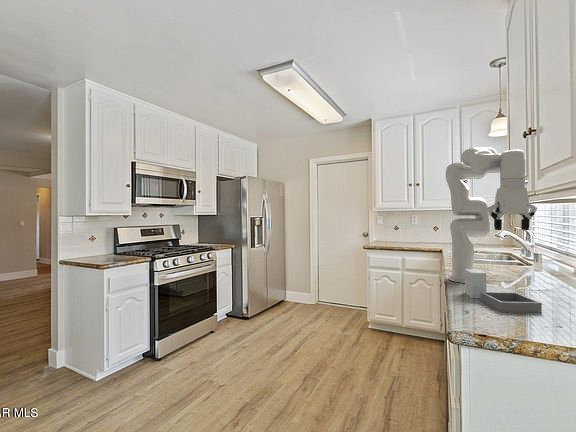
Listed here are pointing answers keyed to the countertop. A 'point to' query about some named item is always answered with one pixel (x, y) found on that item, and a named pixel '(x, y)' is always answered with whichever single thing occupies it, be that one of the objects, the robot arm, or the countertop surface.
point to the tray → (510, 302)
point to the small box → (474, 282)
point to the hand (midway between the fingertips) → (511, 229)
